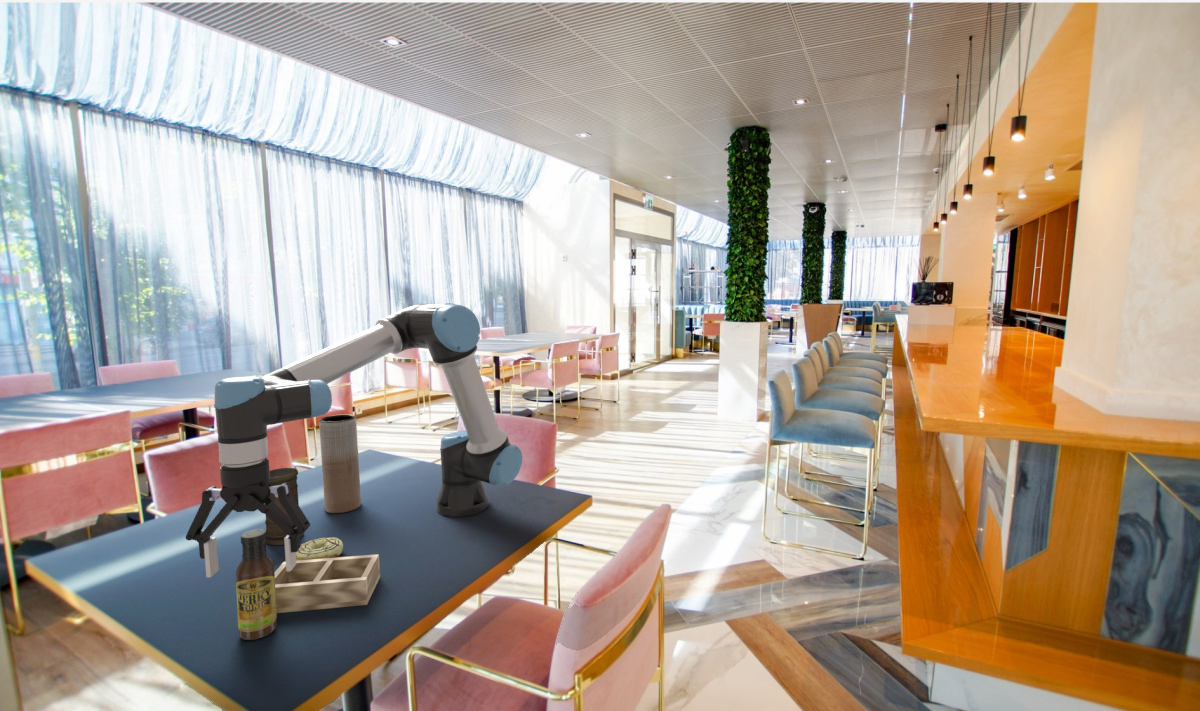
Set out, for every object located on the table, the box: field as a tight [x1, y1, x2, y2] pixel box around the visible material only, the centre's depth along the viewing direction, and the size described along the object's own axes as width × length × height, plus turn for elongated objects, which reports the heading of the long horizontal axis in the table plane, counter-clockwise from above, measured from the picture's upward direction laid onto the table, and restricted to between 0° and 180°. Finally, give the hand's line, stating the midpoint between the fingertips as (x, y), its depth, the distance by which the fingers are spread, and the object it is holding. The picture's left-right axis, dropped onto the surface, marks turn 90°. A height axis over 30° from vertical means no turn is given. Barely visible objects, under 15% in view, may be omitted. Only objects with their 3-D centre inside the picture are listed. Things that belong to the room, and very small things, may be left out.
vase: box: [318, 413, 362, 514], centre depth 159 cm, size 10×10×28 cm
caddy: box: [274, 553, 381, 614], centre depth 114 cm, size 20×11×6 cm, turn 99°
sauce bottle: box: [235, 528, 278, 641], centre depth 100 cm, size 6×6×20 cm
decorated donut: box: [296, 536, 344, 561], centre depth 130 cm, size 10×11×4 cm
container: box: [264, 467, 304, 546], centre depth 140 cm, size 9×9×18 cm
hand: (252, 570), depth 100 cm, fingers open, 13 cm apart
